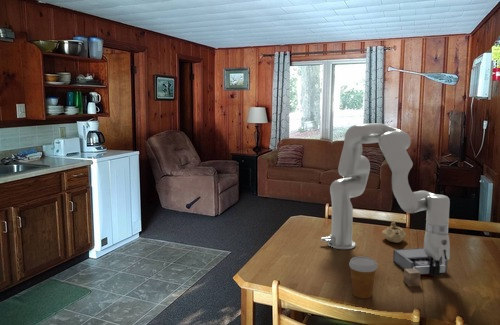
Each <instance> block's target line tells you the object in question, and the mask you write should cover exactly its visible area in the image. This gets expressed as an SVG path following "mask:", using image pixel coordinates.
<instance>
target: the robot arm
mask: <svg viewBox="0 0 500 325" xmlns="http://www.w3.org/2000/svg"><path fill="white" fill-rule="evenodd" d="M344 134H345V135H344V141H343V142H344V143H343V147H342V150H341V155H340V158H339V162H338V166H337V167H338V168H337V171H338V174H339V176H341V177H343V178H339V179H335V180H334V181H332V182H331V183H330V186H329V193H330V201H331V229H330V230H331V233H330V234H329V236H323V237H320V241H321V242H325V243H327V245H328V246H329V247H330V246H331V248H332V247H333V249H336V250H337V249H338V250H352V249H353V248H355V247H356V242H355V241H353V224H354V223H353V222H354V221H353V212H354V211H353V210H354V208H353V204H352V201H351V199H352V198H357V197H359V196H362V194H364V192H365V190H366V187H367V182H368V180H369V175H370V171H371V164H370V160H369V158H367V157H366V156H365V155H363V144H366V145H368V144H376V143H378V146H379V149H380V150H381V152H382V155H383V157H384V158H385V160H386V162H387V164H388V167H389V169H390V170H391V190H392V193H393V195H394V198H395V199H396V201H397V203H398V206H399V207H400V208H401V210H403V211H404V212H406V213H408V214H415V213H418V212H423V211H426V218H425V221H426V222H425V233H424V240H423V248H424V252H425V253H426V255H427V256H428V258H429V264H430V266H429V274H428V275H430V276H434V277H435V276H440V274H441V273H440V266H441V265H445V259H446V260H448V261H449V260H450V253H451V248H450V247H451V246H450V241H451V240H450V235H449V222H450V221H449V220H450V207H451V206H450V205H451V204H450V203H451V202H450V200H451V199H450V198H449V197H448V196H447V195H444V194H437V193H433V192H430V191H427V190H418V191H412V189H411V186H410V184H409V178H408V177H409V174H410V171H411V169H412V168H413V165H414V163H413V161H412V159H411V157H410V155H409V153H408V151H407V149H409V148H410V146H411V143H412V142H411V141H412V140H411V138H410V135H409V134H408V133H407V132H406V131H404V130H401V129H399V128H396V127H393V126H390V125H388V124H385V123H381V122H380V123H379V122H377V123H358V124H354V125H351V126H350V127H349V128H348V129H347V130H346V132H345V133H344Z"/></svg>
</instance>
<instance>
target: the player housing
mask: <svg viewBox="0 0 500 325" xmlns="http://www.w3.org/2000/svg"><path fill="white" fill-rule="evenodd" d="M392 255H393V256H392V258H393V259H392V262H393V263H395V264H396V265H397V266H398V267H400V269H403V270H404V269H410V268H413V266H414V263H413V262H412V261H411V260H409V259H418V258H428V256H427V255H426V253H425V252H424V247H417V248H403V249H393V254H392ZM448 261H449V260H446V259H445V272H443V273H442V274H446V273H447V272H448ZM427 275H430V274H429V273H428V274H427Z"/></svg>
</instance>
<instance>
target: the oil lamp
mask: <svg viewBox="0 0 500 325" xmlns="http://www.w3.org/2000/svg"><path fill="white" fill-rule="evenodd" d="M381 235H382V236H383V237H384V238H385V239H386V240H387V241H388V242H391V243H396V244H397V243H398V244H399V243H400V242H402V241H403V240H405V239H406V238H407V233H406V231H405V230H403V228H402V227H400V226H397V225H396V222H395V221H392V222H391V223H390V226H388V227H386V228H384V229H382V232H381Z"/></svg>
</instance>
